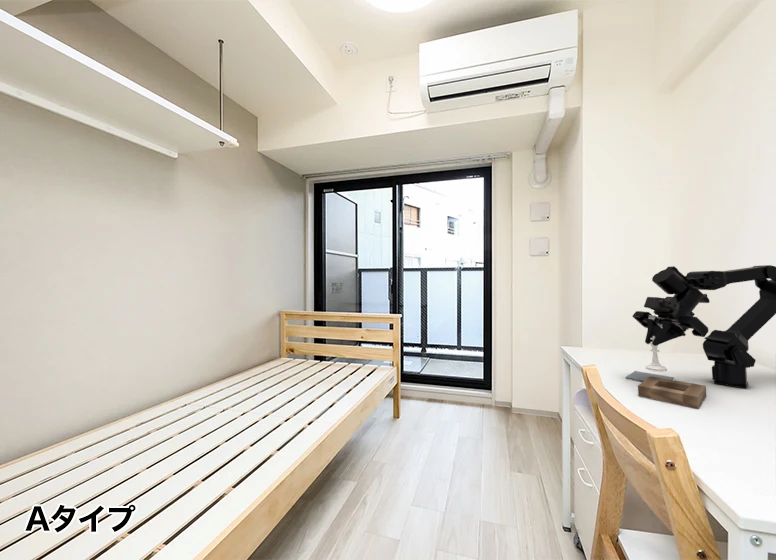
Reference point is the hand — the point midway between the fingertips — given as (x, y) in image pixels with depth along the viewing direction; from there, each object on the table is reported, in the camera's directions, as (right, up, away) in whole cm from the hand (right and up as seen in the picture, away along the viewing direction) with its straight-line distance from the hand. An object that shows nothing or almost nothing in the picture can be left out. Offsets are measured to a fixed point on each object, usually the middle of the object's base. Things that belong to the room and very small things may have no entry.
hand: (649, 343), depth 92 cm
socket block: (+1, -13, -7) cm, 15 cm away
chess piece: (+2, -8, 0) cm, 8 cm away
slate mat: (+7, -13, +8) cm, 17 cm away
